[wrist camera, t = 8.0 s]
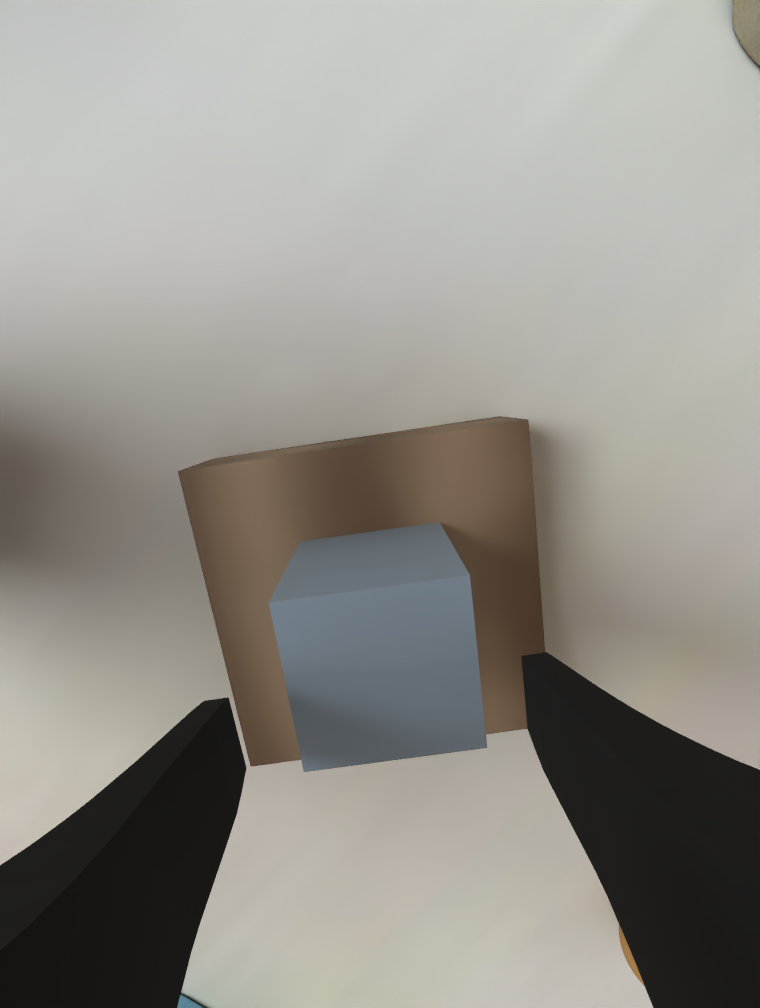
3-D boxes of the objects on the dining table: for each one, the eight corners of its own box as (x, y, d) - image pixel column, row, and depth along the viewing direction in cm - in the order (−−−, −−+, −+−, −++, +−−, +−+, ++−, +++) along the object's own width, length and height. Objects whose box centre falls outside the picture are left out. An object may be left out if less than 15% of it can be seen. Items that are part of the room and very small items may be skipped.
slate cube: (322, 666, 17) (303, 771, 12) (299, 541, 16) (268, 602, 11) (454, 648, 17) (487, 747, 12) (439, 522, 16) (470, 575, 11)
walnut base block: (272, 701, 22) (250, 766, 18) (217, 457, 19) (177, 471, 15) (518, 667, 22) (550, 725, 18) (496, 416, 19) (528, 419, 15)
